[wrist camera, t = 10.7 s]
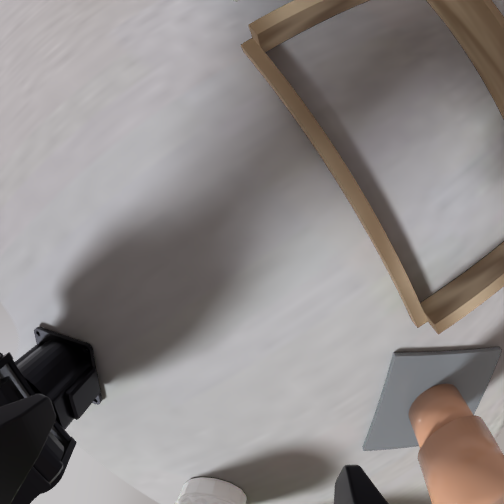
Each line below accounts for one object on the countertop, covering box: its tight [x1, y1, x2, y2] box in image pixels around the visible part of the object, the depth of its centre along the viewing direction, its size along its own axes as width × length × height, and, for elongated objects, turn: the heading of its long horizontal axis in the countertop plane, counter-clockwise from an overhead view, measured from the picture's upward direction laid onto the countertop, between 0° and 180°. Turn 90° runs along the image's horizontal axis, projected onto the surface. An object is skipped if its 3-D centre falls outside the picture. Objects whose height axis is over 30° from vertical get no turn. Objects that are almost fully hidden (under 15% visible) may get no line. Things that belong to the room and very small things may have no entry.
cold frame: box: [234, 0, 504, 334], centre depth 13 cm, size 14×27×6 cm, turn 34°
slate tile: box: [363, 347, 502, 451], centre depth 20 cm, size 10×10×1 cm
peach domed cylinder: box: [408, 384, 504, 504], centre depth 15 cm, size 5×5×11 cm
